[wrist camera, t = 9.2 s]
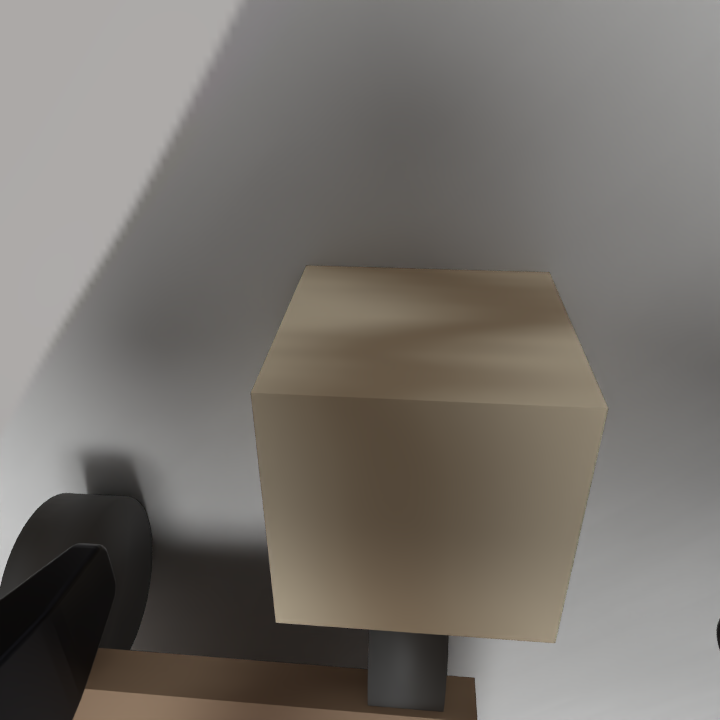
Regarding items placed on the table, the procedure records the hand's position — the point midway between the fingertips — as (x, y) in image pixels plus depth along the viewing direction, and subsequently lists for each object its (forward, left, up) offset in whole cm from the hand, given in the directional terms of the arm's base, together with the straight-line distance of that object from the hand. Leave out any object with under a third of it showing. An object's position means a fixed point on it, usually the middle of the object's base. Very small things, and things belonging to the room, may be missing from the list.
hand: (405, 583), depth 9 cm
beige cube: (0, 0, -6) cm, 6 cm away
